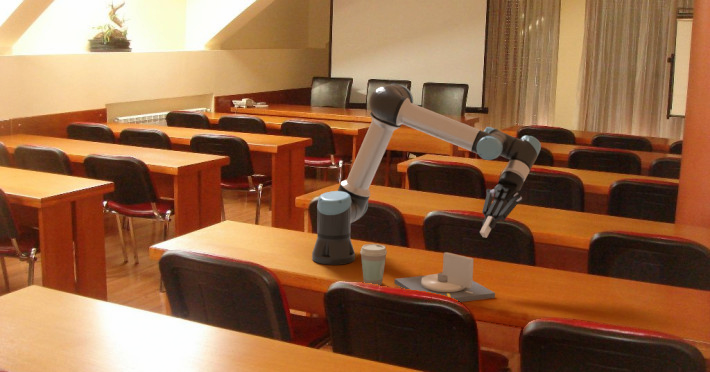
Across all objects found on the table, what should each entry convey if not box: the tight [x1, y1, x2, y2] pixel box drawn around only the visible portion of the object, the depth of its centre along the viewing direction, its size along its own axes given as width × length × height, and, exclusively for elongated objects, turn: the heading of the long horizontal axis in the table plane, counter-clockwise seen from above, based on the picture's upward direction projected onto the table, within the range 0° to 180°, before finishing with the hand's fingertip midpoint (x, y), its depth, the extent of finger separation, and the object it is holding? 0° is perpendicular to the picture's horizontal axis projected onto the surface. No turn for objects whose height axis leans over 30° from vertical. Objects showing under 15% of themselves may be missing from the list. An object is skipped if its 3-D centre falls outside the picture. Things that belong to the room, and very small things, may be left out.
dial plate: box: [394, 274, 496, 303], centre depth 247 cm, size 23×23×2 cm
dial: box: [421, 251, 474, 292], centre depth 245 cm, size 17×14×10 cm
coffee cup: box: [359, 243, 388, 286], centre depth 252 cm, size 8×8×12 cm
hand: (483, 234), depth 250 cm, fingers closed
